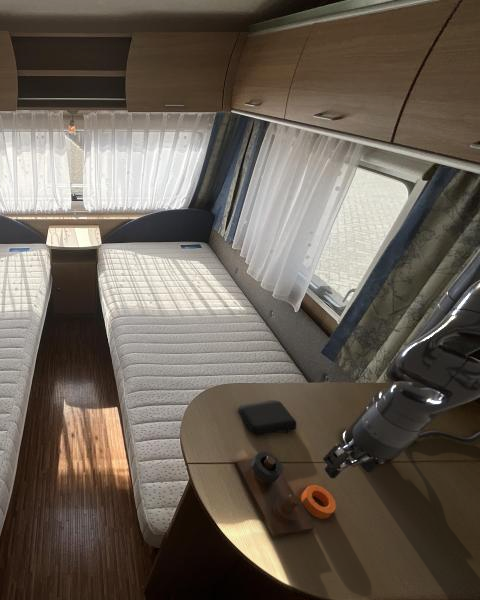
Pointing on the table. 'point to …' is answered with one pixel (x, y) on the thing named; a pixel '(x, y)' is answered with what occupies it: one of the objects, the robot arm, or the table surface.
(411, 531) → the table surface
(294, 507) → the tape rack
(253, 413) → the carrying case
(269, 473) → the black tape
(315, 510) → the orange tape
